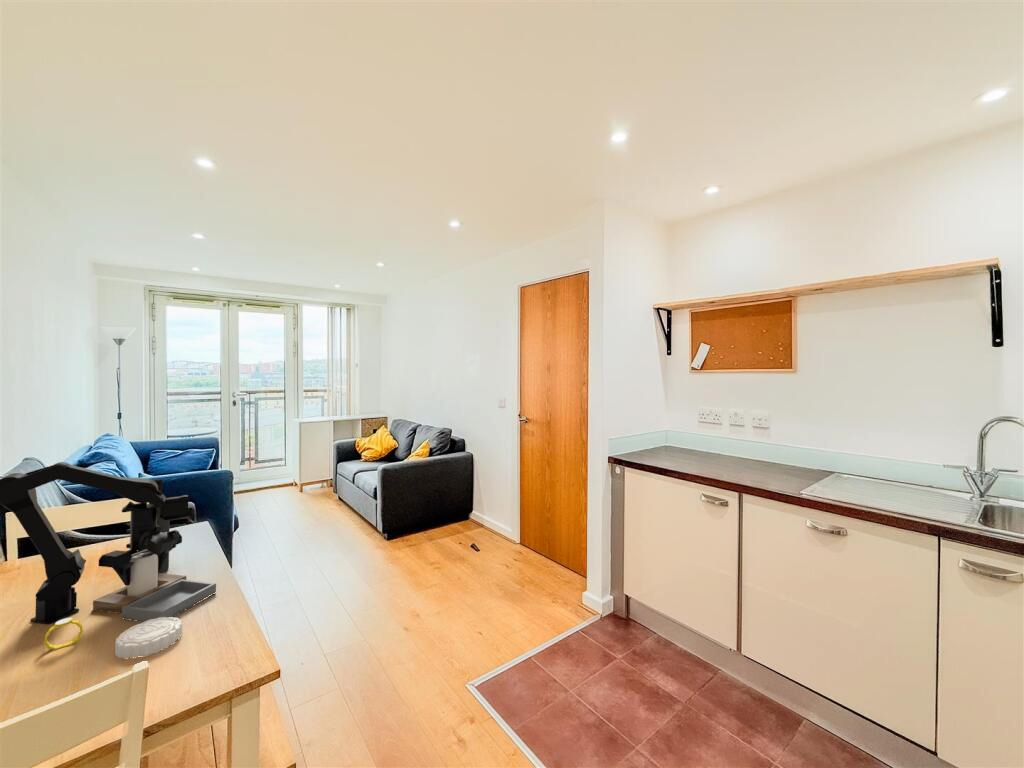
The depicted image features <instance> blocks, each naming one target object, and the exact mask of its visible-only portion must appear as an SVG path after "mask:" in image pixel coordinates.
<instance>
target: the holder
mask: <svg viewBox="0 0 1024 768" xmlns="http://www.w3.org/2000/svg"><path fill="white" fill-rule="evenodd" d="M181 579H183V580H187V575H182V574H175V573H174V574H172V573H164V572H162V573H158V587H156V588H154V589H152V590H150V591H147V592H145V593H143V594H141V595H139V596H137V597H136V596H128V595H127V588H128V586H126V585H125V586H124V587H121V588H118V589H117V590H115V591H112V592H110V593H108V594H105V595H103V596H100V597H98V598H95V599H93V601H92V602H93V603H92V609H95V610H94V611H99V610H102V611H101V612H106V611H111V612H110V613H113V612H117V613H116V614H121V613H122V607H124V606H126V605H128V604H131V603H133V602H135V601H137V600H139V599H141V598H143V597H145V596H147V595H150V594H152V593H154V592H156V591H158V590H160V589H162V588H164V587H166V586H169V585H171V584H173V583H175V582H177V581H179V580H181Z"/></svg>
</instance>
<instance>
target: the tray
mask: <svg viewBox="0 0 1024 768" xmlns="http://www.w3.org/2000/svg"><path fill="white" fill-rule="evenodd" d="M215 592H216V593H217V583H216V582H208V581H207V582H206V581H201V580H200V581H199V580H191V579H186V580H183V579H181V580H179V581H177V582H175V583H173V584H171V585H169V586H166V587H164V588H162V589H160V590H158V591H156V592H154V593H152V594H150V595H147V596H145V597H143V598H141V599H139V600H137V601H135V602H133V603H131V604H128V605H126V606H124V607H122V614H121V619H122V618H124V619H123V620H125V619H131V620H130V621H132V620H137V621H136V622H139V621H143V622H145V621H148V620H150V619H156V618H159V617H162V618H163V617H167V618H168V617H173V616H175V615H176V614H178V613H180V612H182V611H184V610H185V609H187V610H189V609H190V608H189V607H191V606H193V605H194V604H196V603H197V602H199V601H201V600H203V599H204V598H206V597H208V596H209V595H211V594H213V593H215ZM196 605H197V604H196ZM193 607H194V606H193ZM188 608H189V609H188ZM191 608H192V607H191ZM184 612H185V611H184ZM182 613H183V612H182ZM180 614H181V613H180ZM178 615H179V614H178ZM175 617H176V616H175ZM143 622H142V623H143Z"/></svg>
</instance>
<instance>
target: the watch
mask: <svg viewBox="0 0 1024 768" xmlns="http://www.w3.org/2000/svg"><path fill="white" fill-rule="evenodd" d="M54 623H55V624H54V625H53V626H51V627H50V628H49V629H48V631H47V632H46V634H45V635H44V641H43V644H44V645H45V646H46V648H47V649H49V650H52V651H56V650H58V649H63V648H65V647H69V646H73V645H74V644H75V643H76V642H77V641H79V639H80V638H81V636H82V634H83V631H84V630H83V624H82V623H81V622H80V620H77V619H73V617H64V618H62V619H60V620H57V621H55V622H54ZM70 624H71V625H72V624H73V625H76V626H78V628H79V632H78V634H77V635H76V636H75V638H74V639H73V640H70V641H68V642H65V643H61V644H57V645H55V644H50V642H49V641H48V637H49V636H50V635H51V633H52V632H53V631H54V630H55V629H57V628H62V627H66V626H69V625H70Z"/></svg>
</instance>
